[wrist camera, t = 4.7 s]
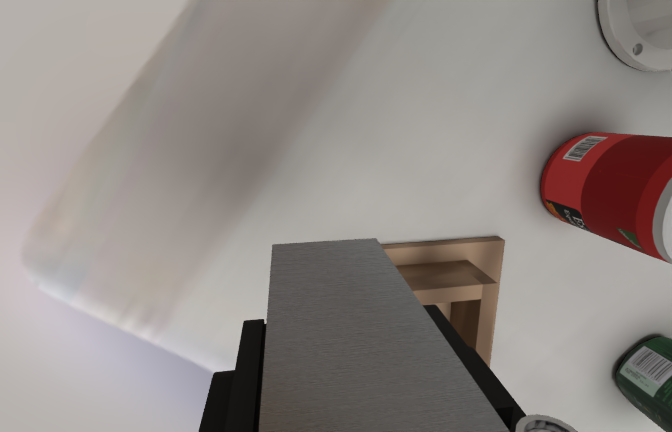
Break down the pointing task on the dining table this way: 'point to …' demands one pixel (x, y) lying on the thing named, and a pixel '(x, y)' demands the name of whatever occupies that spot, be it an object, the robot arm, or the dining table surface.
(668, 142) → the canned food
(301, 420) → the grey boxy piece
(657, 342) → the coffee jar
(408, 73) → the dining table surface
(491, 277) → the well block
